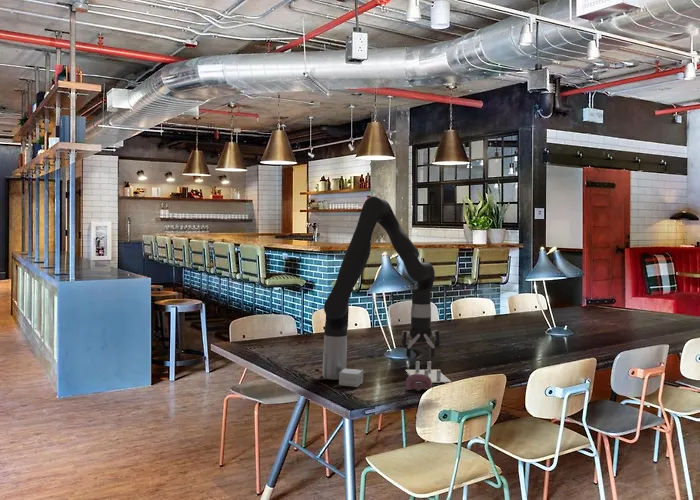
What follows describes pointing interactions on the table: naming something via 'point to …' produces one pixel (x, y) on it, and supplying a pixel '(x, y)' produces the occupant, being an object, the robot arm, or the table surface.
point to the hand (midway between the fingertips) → (420, 357)
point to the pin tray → (429, 373)
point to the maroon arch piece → (415, 378)
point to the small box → (351, 377)
